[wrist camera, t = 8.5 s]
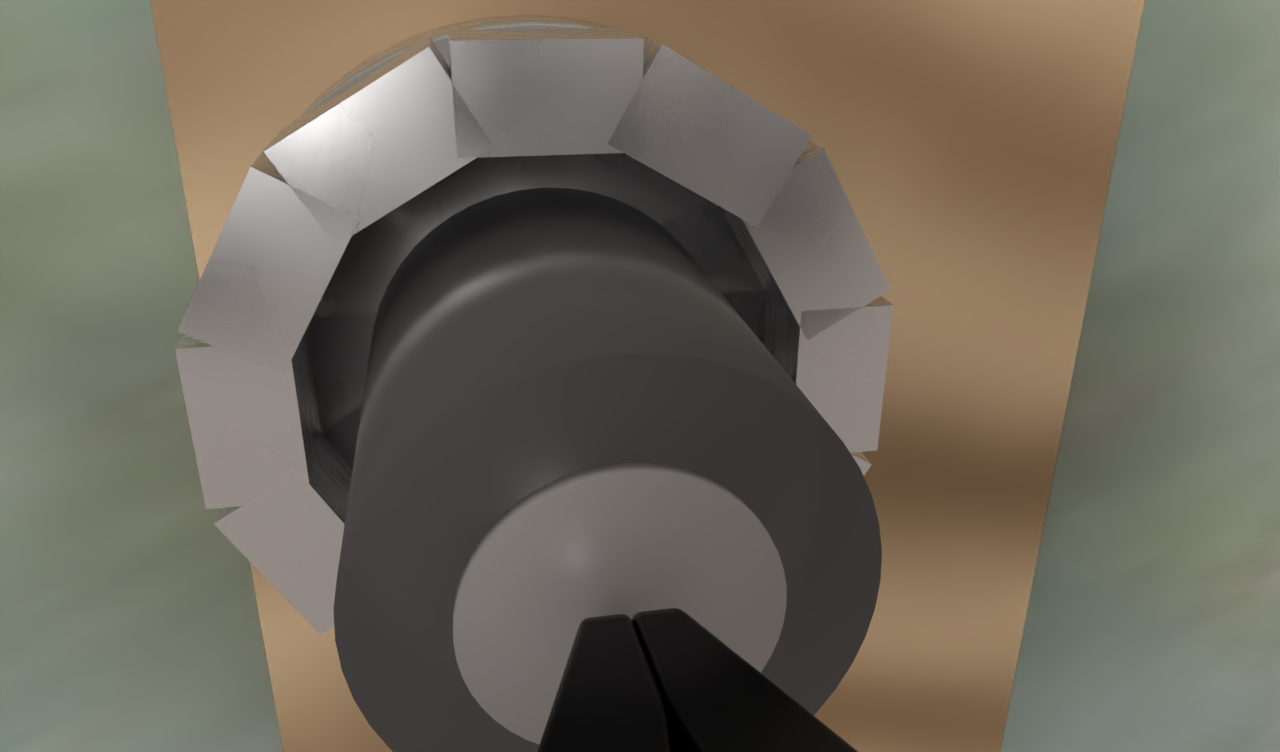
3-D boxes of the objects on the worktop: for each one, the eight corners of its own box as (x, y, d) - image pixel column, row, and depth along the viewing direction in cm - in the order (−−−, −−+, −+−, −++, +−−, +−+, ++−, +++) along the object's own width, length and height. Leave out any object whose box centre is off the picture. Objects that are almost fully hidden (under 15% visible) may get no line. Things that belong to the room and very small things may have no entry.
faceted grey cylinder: (786, 530, 19) (858, 648, 16) (277, 581, 17) (243, 724, 14) (825, 12, 15) (928, 31, 12) (184, 16, 14) (109, 39, 10)
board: (972, 753, 24) (993, 785, 23) (313, 849, 21) (308, 889, 20) (1121, -84, 17) (1161, -86, 16) (152, -95, 14) (132, -98, 13)
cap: (711, 494, 16) (863, 794, 10) (388, 523, 15) (363, 869, 9) (724, 181, 14) (921, 343, 8) (352, 194, 13) (295, 385, 7)
